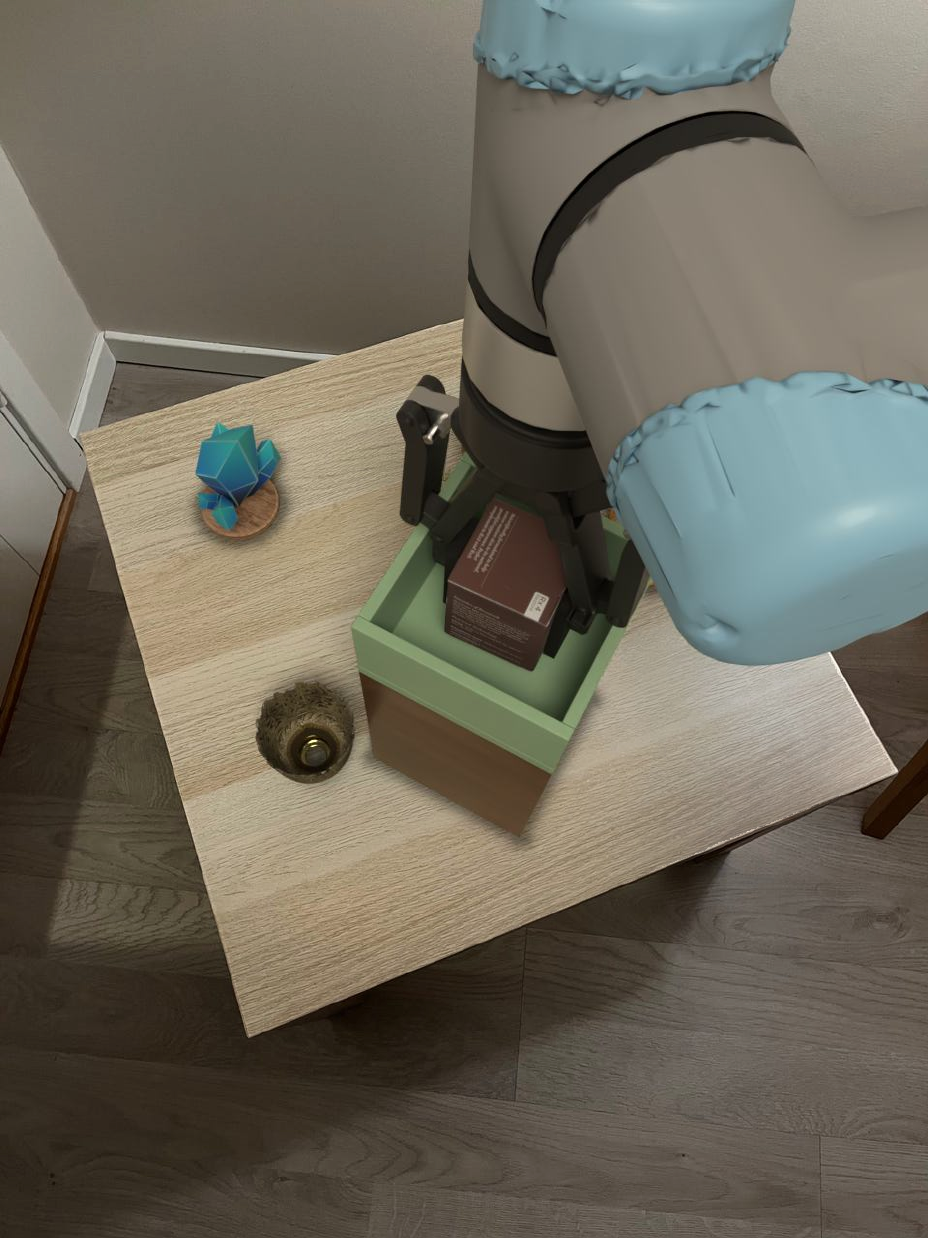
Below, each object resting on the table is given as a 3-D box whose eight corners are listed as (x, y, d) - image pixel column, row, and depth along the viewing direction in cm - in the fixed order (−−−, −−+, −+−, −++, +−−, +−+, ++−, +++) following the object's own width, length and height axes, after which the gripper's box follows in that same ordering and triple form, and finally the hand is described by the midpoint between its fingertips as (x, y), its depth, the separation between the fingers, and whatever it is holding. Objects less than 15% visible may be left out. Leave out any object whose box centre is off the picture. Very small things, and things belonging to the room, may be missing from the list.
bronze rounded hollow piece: (344, 701, 77) (335, 667, 70) (374, 780, 74) (368, 753, 67) (259, 732, 75) (241, 701, 68) (286, 814, 73) (271, 791, 66)
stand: (519, 838, 73) (551, 774, 55) (373, 757, 75) (358, 671, 57) (591, 698, 78) (642, 598, 60) (452, 627, 80) (461, 509, 62)
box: (484, 555, 57) (493, 493, 51) (572, 595, 56) (592, 536, 50) (441, 634, 55) (444, 579, 48) (531, 676, 54) (547, 627, 47)
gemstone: (300, 487, 85) (282, 408, 75) (247, 557, 82) (220, 485, 71) (235, 454, 87) (208, 371, 76) (180, 521, 83) (144, 445, 72)
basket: (551, 774, 55) (568, 741, 48) (358, 671, 57) (350, 626, 50) (642, 598, 60) (668, 546, 53) (461, 509, 62) (466, 449, 56)
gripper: (830, 392, 34) (675, 634, 55) (392, 202, 37) (403, 500, 58) (760, 543, 31) (624, 738, 52) (292, 324, 34) (341, 591, 56)
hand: (508, 612), depth 55 cm, fingers closed on box, 6 cm apart
